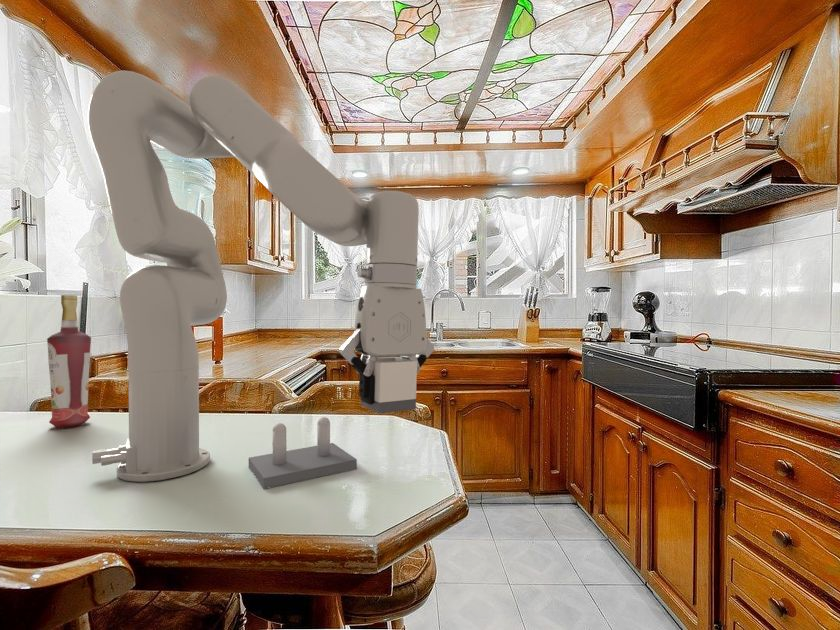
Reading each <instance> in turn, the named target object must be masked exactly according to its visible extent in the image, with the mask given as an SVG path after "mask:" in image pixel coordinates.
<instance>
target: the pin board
mask: <svg viewBox="0 0 840 630" xmlns="http://www.w3.org/2000/svg"><path fill="white" fill-rule="evenodd" d="M316 425H317V426H316V427H317V429H316V432H317V435H316V439H317V442H316V443H317V444H316V445H313V446H307V447H301V448H295V449H290V450H287V427H286V425H285V423H281V422H280V423H279V422H278V423H276V424H274V426H273V427H272V453H269V454H267V453H266V454H263V455H256V456H251V457H248V469H249V470H250V469H251V470H250V472H251V473H252V472H253V473H254V474H253V473H252V474H253V476H254V475H255V476H256V477H255V476H254V477H255V478H257V479H258V480H257V479H256V480H257V481H258V483H259V482H260V483H259V485H260V486H261V485H262V486H261V487H262V488H266V489H269V488H268V487H271V488H275V487H274V486H276V487H279V486H278V485H280V486H284V484H285V485H289V484H293V483H298V482H302V481H307V480H311V479H312V480H313V479H316V478H321V477H325V476H331V475H334V474H339V473H344V472H349V471H353V470H357V469H358V468H357V467H358V462H357V461H358V459H357V458H356V457H354V456H353V455H351V454H350V453H348V452H347V451H345V450H344V449H342V448H341V447H339V446H338V445H336V444H335V443H334V442H331V421H330V419H329V418H327V416H323V417H320V418H319V419H318V420H317V424H316Z"/></svg>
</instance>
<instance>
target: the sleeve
mask: <svg viewBox="0 0 840 630" xmlns="http://www.w3.org/2000/svg"><path fill="white" fill-rule="evenodd" d="M372 376H375V397H374V404H367V403H365V402H363V401H361V400H360V406H362V407H365V408H367V409H369V410H371V411H373V412H374V413H375V412H376V413H377V414H384V413H385V414H386V413H393V412H402V411H411V410H416V409H417V380H418V379H417V377H418V373H417V361H414V360H408V359H405V358H401V357H400V356H391V357H378V358H377V361H376V362H375V366H374V369H373V371H372Z"/></svg>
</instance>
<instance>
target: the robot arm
mask: <svg viewBox="0 0 840 630" xmlns="http://www.w3.org/2000/svg"><path fill="white" fill-rule="evenodd" d="M87 123H88V130H89V135H90V138H91V142H92V145H93V149H94V151H95V154H96V157H97V159H98V162H99V166H100V168H101V171H102V175H103V179H104V180H103V181H104V186H105V190H106V195H107V197H108V198H107V199H108V202H109V203H108V204H109V207H110V212H111V216H112V219H113V224H114V228H115V232H116V235H117V239H118V241H119V244H120V246H121V248H122V249H123V250H124V251H125V252H126V253H127V254H129V255H131V256H133V257H135V258H140V259H141V260H142V259H143V260H147V261H151V262H153V261H154V262H159V263H164V264H165V263H166V265H161V264H160V265H159V264H158V265H157V264H156V265H146V266H142V267H140V268H137V269H135V270H134V271H132V272H131V273H130V274H129V275H127V277H125V279H124V281H123V283H122V285H121V288H120V292H119V305H120V310H121V314H122V318H123V322H124V323H123V324H124V327H125V332H126V334H125V335H126V341H127V359H128V360H127V361H128V363H127V364H128V365H127V366H128V438H127V439H126V444H119V445H118V447H117V448H109V449H108V448H104V449H97V450H93V451H92V453H91V455H92V456H91V457H92V459H91V463H92V465H96V464H100V465H101V466H108V465H113V464H118V466H117V467H116V476H117V478H119V479H121V480H123V481H127V482H137V483H138V482H139V483H141V482H142V483H144V482H154V481H156V482H157V481H163V480H169V479H174V478H178V477H182V476H185V475H189V474H193V473H195V472H196V471H199V470H201V469H203V468H204V467H205V466H207V465H208V464H209V463H210V461H211V454H210V452H209V450H207V449H204V448H200V399H199V398H200V386H199V385H200V379H199V377H200V372H199V371H200V367H199V366H200V365H199V364H200V363H199V361H200V360H199V359H200V358H199V355H200V354H199V349H198V343H197V340H196V338H195V334H194V331H193V329H192V326H200V325H201V326H202V325H203V326H204V325H207V324H211V323H213V322H215V321H216V320H218V319H219V318H220V317H221V316H222V314H223V313H224V312H225V309H226V307H227V301H228V294H227V285H226V282H225V278H224V277H225V276H224V273H223V269H222V264H221V260H220V256H219V252H218V248H217V245H216V240H215V237H214V234H213V232H212V230H211V229H210V227H209V226H208V224H207V223H206V221H204V220H203V219H202V218H201V217H199V216H198V215H197V214H194V213H192V212H190V211H187V210H185V209H182V208H180V207H179V206H177V204H176V203H175V201H174V198H173V195H172V192H171V189H170V185H169V180H168V176H167V172H166V170H165V168H164V166H163V163H162V162H161V160H160V158H159V156H158V155H157V153H156V152H155V150H154V148H153V145H152V143H153V144H154V145H156V146H158V147H160V148H162V149H164V150H166V151H167V152H170V153H171V154H174V155H175V156H178V157H181V158H186V159H191V160H192V159H194V160H195V159H196V160H197V159H222V158H225V159H226V158H235V159H236V160H237V161H238V162H239V163H240V164H242V166H243V167H244V168H246V169H247V170H248V171H249V172H250V173H251V174H252V175H253V176H254V177H255V178H256V179H257V180H258V181H259V182H260V183H261V184H262V185H263V186H264V187H265V188H266V190H268V192H270V193H271V194H272V195H273V196H274V197H275V198H276V199H277V200H278V201H279V202H280V203H281V204H282V205H283V206H285V207H286V209H287V210H288V211H290V212H291V213H292V215H294V216H295V217H296V218H297V219H298V220H300V221H301V223H303V224H304V225H305V226H306V227H307V228H309V229H310V230H311V231H313V232H314V233H315V234H318V235H319V236H322V237H323V238H325V239H327V240H329V241H330V242H333V243H335V244H337V245H338V246H343V247H357V246H366V249H365V250H366V251H365V252H366V253H365V254H366V256H365V260H366V261H365V265H364V267H363V268H361V267H359V268H358V269H357V274H356V275H357V277H358V278H362V279H363V281H364V282H363V283H364V284H365V285H364V286H361V287H360V291H359V292H360V293H359V296H358V301H357V306H356V313H355V321H354V331H353V333H352V334H351V335H350V336H349V338H348V339H347V340H346V341H345V342H344V343H343V344H342V345H341V346H340V347H339V348H338V352H339V354H340V355H341V356H342V357H343V358H344V359H345V360H346V361H347V362H348V363H349V365H350V366H351V367H352V368H353V369H354V370H355V371H356V373H357V374H358V375H359V377H358V378H359V382H358V383H359V386H358V394H359V395H358V396H359V398H360V402H361V401H363V402H365V403H367V404H374V397H375V376H372V371H373V369H374V366H375V362H376V361H377V358H379V357H400V358H405V359H408V360H414V361H417V374H418V373H419V372H420V371H421V367H422V366H423V365H424V363H425V362H426V361H427V358H429V357H430V356H431V355H432V353H433V352H434V351H435V346H434V344H433V343H432V342H431V341H430V340H429V338H428V337H427V322H426V321H427V319H426V308H425V301H424V296H423V291H422V288H417V287H418V286H417V283H418V281H417V279H418V248H419V247H418V242H419V237H418V236H419V211H420V210H419V209H420V208H419V207H420V205H419V202H418V200H417V198H416V197H415V196H414V195H413V194H411V193H409V192H405V191H399V190H383V191H379V192H378V191H377V192H375V193H374V194H372V195H371V196H370V197H369V198H368V200H365V199H362V198H360V197H359V196H357V195H356V194H355V193H354V192H353V191H352V190H350V188H349V187H347V186H346V185H345V183H343V182H342V181H341V180H340V179H338V178H337V177H336V175H334V174H333V173H332V172H331V171H329V170H328V169H327V168H326V167H325V166H324V165H323V164H322V163H321V162H319V161H318V159H316V157H314V156H313V155H312V154H311V153H310V152H308V150H306V149H305V148H304V147H303V146H302V145H301V144H300V143H299V140H298V138H297V137H296V136H295V135H294V134H293V133H292V132H290V131H289V129H288V128H286V127H285V126H284V125H283V124H282V123H281V122H279V121H278V120H277V119H276V118H275V117H273V115H272V114H270V113H269V111H267V110H266V109H265V108H264V107H263V106H261V105H260V104H259V102H257V100H255V99H254V98H253V97H252V96H250V94H248V92H246V91H245V90H244V89H243V88H242V87H241V86H239V85H237V83H235V82H234V81H232V80H230V79H229V78H225V77H223V76H218V75H207V76H203V77H201V78H200V79H198V80H196V82H195V83H194V84H193V86H192V87H191V89H190V91H189V104H188V103H187V102H185V101H184V100H183V99H181V98H180V97H178V95H176V94H175V93H173V92H172V91H171V90H169V89H167V88H166V87H165V86H163V84H161V83H159V82H158V81H156V80H154V79H152V78H150V77H148V76H146V75H145V74H142V73H140V72H136V71H133V70H124V69H123V70H117V71H114V72H111V73H109V74H107V75H105V76H104V77H103V78H102V79H101V80H100V81H99V83H98V84H97V85H96V87H95V88H94V90H93V93H92V95H91V97H90V100H89V104H88V110H87ZM355 351H356V352H357V353H359V354H361V356H360V357H359V356H357V354H356V353H355Z"/></svg>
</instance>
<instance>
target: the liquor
mask: <svg viewBox="0 0 840 630" xmlns="http://www.w3.org/2000/svg"><path fill="white" fill-rule="evenodd" d="M60 299H61V301H60V303H61V307H62V308H61V309H62V315H61V323H60V324H61V325H60V331H58V332H56V333H54V334H51V335H50V336H49V337H47V338H46V342H47V344H46V345H47V356H48V357H47V358H48V359H47V360H48V370H49V372H48V374H49V380H50V382H49V383H50V384H49V385H50V398H51V400H50V401H51V402H50V403H51V419H50V420H49V421H48V422H49V424H50V425H52V426H53V427H55V428H57V429H69V428H70V429H71V428H76V427H81V426H82V425H84V424H85V423H87V421H88V420H89V419H90V418H91V416H90V415H89V412H88V411H89V408H88V406H89V405H88V404H89V381H90V379H89V378H90V367H91V366H90V365H91V347H92V346H91V344H92V337H91V336H90V335H88V334H86V333H85V332H81V331H79V325H78V318H77V307H78V306H77V305H78V295H74V294H73V295H69V294H68V295H67V294H66V295H65V294H64V295H63V294H61V296H60Z"/></svg>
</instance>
